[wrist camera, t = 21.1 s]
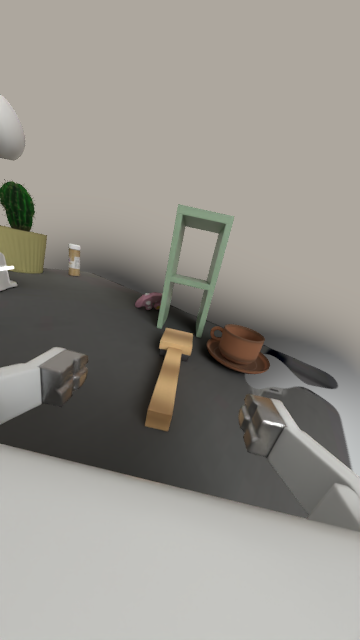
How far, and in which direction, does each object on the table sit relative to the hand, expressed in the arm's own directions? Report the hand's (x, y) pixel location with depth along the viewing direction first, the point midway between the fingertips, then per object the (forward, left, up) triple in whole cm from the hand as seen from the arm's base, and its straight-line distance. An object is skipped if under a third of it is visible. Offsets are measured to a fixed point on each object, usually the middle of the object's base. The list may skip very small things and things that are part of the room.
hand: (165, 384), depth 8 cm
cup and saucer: (+1, +26, -10) cm, 28 cm away
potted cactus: (-84, +24, -10) cm, 88 cm away
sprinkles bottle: (-78, +40, -10) cm, 88 cm away
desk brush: (-6, +13, -10) cm, 18 cm away
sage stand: (-15, +32, -10) cm, 36 cm away
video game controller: (-28, +35, -10) cm, 46 cm away
